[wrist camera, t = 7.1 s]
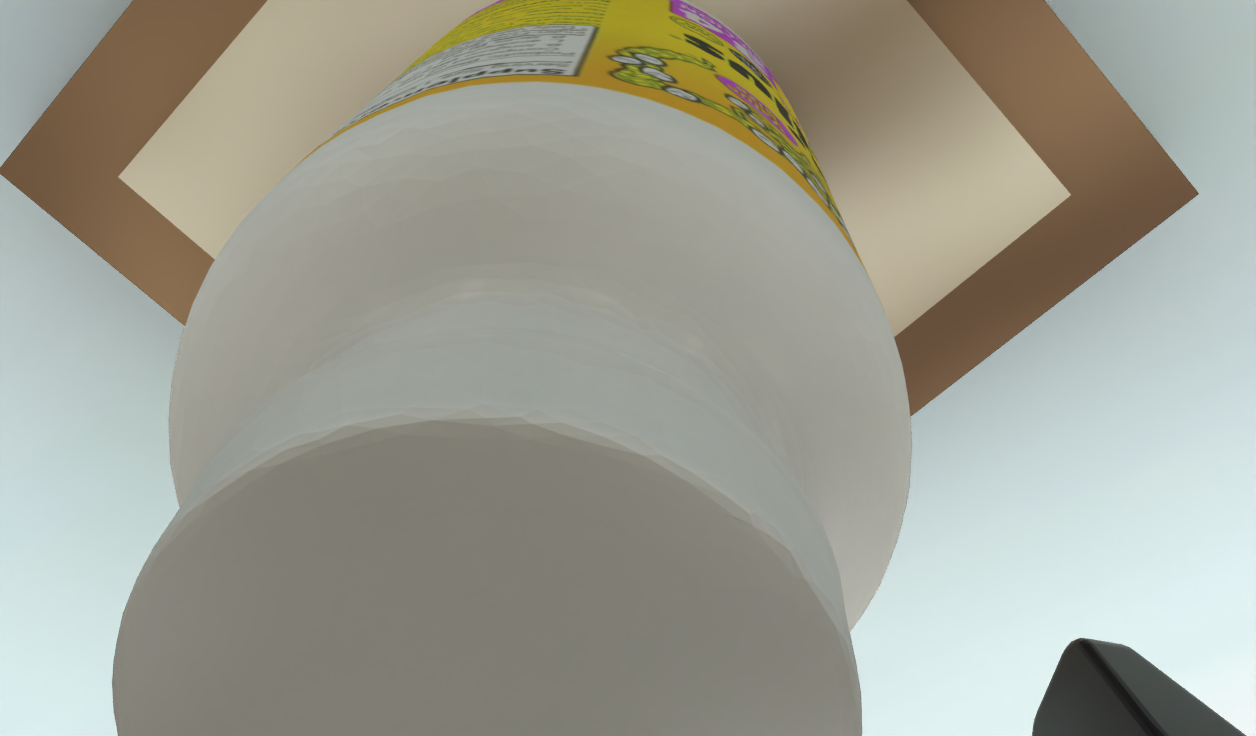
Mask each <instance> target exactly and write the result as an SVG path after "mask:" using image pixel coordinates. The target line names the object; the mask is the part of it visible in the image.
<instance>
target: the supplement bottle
mask: <svg viewBox="0 0 1256 736" xmlns="http://www.w3.org/2000/svg"><path fill="white" fill-rule="evenodd" d="M169 444H170V465H171V469H172V474H173V479H174V484H175V489H176V494H177V499H178V503H179V507H180V509H179V510H178V512H177V513H176V515H175V516H174V518H173V519H172V521H171V522H170V524H169V525H168V527H167V528H166V530H165V531H164V533H163V534H162V536H161V537H160V539H159V540H158V542H157V543H156V545H155V546H154V548H153V550H152V551H151V553H150V555H149V557H148V559H147V561H146V562H145V564H144V566H143V568H142V570H141V572H140V573H139V575H138V577H137V579H136V582H135V584H134V587H133V589H132V592H131V594H130V597H129V599H128V602H127V604H126V607H125V610H124V612H123V616H122V620H121V625H120V629H119V634H118V638H117V644H116V650H115V656H114V664H113V678H112V689H113V706H114V714H115V720H116V726H117V732H118V736H862V706H861V691H860V684H859V678H858V672H857V665H856V660H855V655H854V651H853V646H852V641H851V637H850V631H851V630H852V628H853V627H854V626H855V624H856V623H857V622H858V620H859V619H860V618H861V616H862V614H863V613H864V611H865V610H866V608H867V606H868V605H869V603H870V601H871V600H872V598H873V596H874V594H875V593H876V591H877V589H878V588H879V586H880V583H881V581H882V579H883V576H884V574H885V571H886V569H887V566H888V564H889V561H890V559H891V556H892V553H893V551H894V548H895V545H896V543H897V539H898V536H899V532H900V529H901V525H902V522H903V515H904V512H905V508H906V504H907V498H908V493H909V487H910V470H911V453H912V436H911V417H910V409H909V401H908V394H907V388H906V382H905V376H904V371H903V366H902V362H901V359H900V356H899V352H898V349H897V346H896V342H895V339H894V336H893V333H892V329H891V327H890V324H889V322H888V319H887V317H886V315H885V312H884V309H883V306H882V304H881V302H880V299H879V297H878V295H877V293H876V290H875V288H874V286H873V284H872V282H871V279H870V277H869V275H868V273H867V271H866V269H865V267H864V265H863V263H862V261H861V259H860V257H859V255H858V252H857V250H856V248H855V246H854V243H853V241H852V239H851V237H850V234H849V232H848V230H847V228H846V226H845V223H844V221H843V218H842V216H841V214H840V212H839V210H838V208H837V206H836V203H835V201H834V199H833V196H832V194H831V192H830V189H829V187H828V185H827V182H826V180H825V177H824V175H823V173H822V171H821V169H820V167H819V164H818V161H817V158H816V157H815V155H814V154H813V151H812V149H811V147H810V144H809V141H808V139H807V137H806V136H805V134H804V131H803V129H802V127H801V125H800V123H799V121H798V119H797V117H796V115H795V113H794V110H793V108H792V106H791V104H790V102H789V101H788V99H787V97H786V95H785V93H784V92H783V90H782V88H781V87H780V85H779V84H778V82H777V81H776V79H775V78H774V76H773V75H772V73H771V72H770V70H769V69H768V68H767V66H766V65H765V64H764V62H763V61H762V60H761V59H760V57H759V56H758V55H757V54H756V53H755V52H754V51H753V50H752V48H751V47H750V46H749V45H748V44H747V43H746V42H745V41H744V40H743V39H742V38H741V37H740V36H739V35H737V34H736V33H735V32H734V31H733V30H732V29H730V28H729V27H728V26H727V25H725V24H724V23H723V22H722V21H720V20H719V19H718V18H716V17H715V16H713V15H711V14H710V13H708V12H707V11H705V10H703V9H702V8H700V7H698V6H696V5H695V4H693V3H691V2H689V1H687V0H499V1H497V2H495V3H493V4H491V5H489V6H487V7H485V8H483V9H481V10H479V11H478V12H476V13H474V14H473V15H471V16H470V17H468V18H467V19H465V20H464V21H462V22H461V23H460V24H458V25H457V26H456V27H455V28H453V29H452V30H451V31H449V32H448V33H447V34H446V35H445V36H443V37H442V38H441V39H440V40H439V41H437V42H436V43H435V44H434V45H433V46H432V47H431V48H429V49H428V50H427V51H426V52H425V53H424V54H423V55H422V56H421V57H420V58H418V59H417V60H416V61H415V62H414V63H412V64H411V65H410V66H409V67H408V68H407V69H406V70H405V71H404V72H403V73H402V74H401V75H399V76H398V77H397V78H396V79H395V80H394V81H392V82H391V83H390V84H389V85H388V86H387V87H386V88H385V89H384V90H382V91H381V92H380V93H379V94H378V95H377V96H375V97H374V98H373V99H372V100H371V101H370V102H369V103H368V104H367V105H366V106H365V107H363V108H362V109H361V110H360V111H359V112H358V113H357V114H355V115H354V116H353V117H352V118H351V119H350V120H348V121H347V122H346V123H345V124H344V125H343V126H341V127H340V128H339V129H338V130H337V131H335V132H334V133H333V134H332V135H331V136H330V137H328V138H327V139H326V140H324V141H323V142H322V143H321V144H320V145H319V146H318V147H317V148H316V149H314V150H313V151H312V152H311V153H310V154H308V155H307V156H306V157H305V158H304V159H303V160H302V161H301V162H300V163H298V164H297V165H296V166H295V167H294V168H293V169H292V170H291V171H290V172H289V173H288V174H287V175H286V176H285V177H284V178H283V179H282V180H281V181H280V182H279V183H277V184H276V186H275V187H274V188H273V189H272V190H271V191H270V192H269V193H268V194H267V195H266V196H265V197H264V198H262V199H261V200H260V202H259V203H258V204H257V205H256V206H255V207H254V208H253V209H252V210H251V212H250V213H249V214H248V215H247V216H246V217H245V218H244V219H243V221H242V222H241V223H240V224H239V225H238V227H237V228H236V230H235V231H234V232H233V234H232V235H231V237H230V238H229V240H228V241H227V242H226V244H225V245H224V247H223V248H222V249H221V251H220V252H219V254H218V255H217V257H216V259H215V260H214V262H213V264H212V265H211V267H210V269H209V271H208V273H207V275H206V277H205V279H204V281H203V283H202V285H201V287H200V289H199V292H198V294H197V296H196V298H195V300H194V302H193V304H192V307H191V310H190V313H189V316H188V319H187V322H186V325H185V328H184V331H183V334H182V337H181V340H180V344H179V349H178V353H177V358H176V363H175V367H174V372H173V377H172V385H171V396H170V407H169Z"/></svg>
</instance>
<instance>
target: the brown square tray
mask: <svg viewBox="0 0 1256 736" xmlns="http://www.w3.org/2000/svg"><path fill="white" fill-rule="evenodd" d="M497 1H499V0H133V2H132V3H131V4H130V5H129V7H128V8H127V9H126V10H125V12H124V13H123V14H122V15H121V17H120V18H119V19H118V20H117V22H116V23H115V24H114V25H113V27H112V28H111V29H110V30H109V32H108V33H107V34H106V35H105V37H104V38H103V39H102V40H101V42H100V43H99V44H98V45H97V47H96V48H95V49H94V50H93V52H92V53H91V54H90V56H89V57H88V58H87V59H86V61H85V62H84V63H83V64H82V66H81V67H80V68H79V69H78V71H77V72H76V73H75V74H74V76H73V77H72V78H71V79H70V81H69V82H68V83H67V84H66V86H65V87H64V88H63V89H62V91H61V92H60V93H59V94H58V96H57V97H56V98H55V99H54V101H53V102H52V103H51V104H50V106H49V107H48V108H47V110H46V111H45V112H44V113H43V115H42V116H41V117H40V118H39V120H38V121H37V122H36V123H35V125H34V126H33V127H32V128H31V130H30V131H29V132H28V133H27V135H26V136H25V137H24V138H23V140H22V141H21V142H20V143H19V145H18V146H17V147H16V148H15V150H14V151H13V152H12V153H11V155H10V156H9V157H8V158H7V160H6V161H5V162H4V164H3V165H2V166H1V167H0V174H1V175H2V176H4V177H5V178H6V179H7V180H8V181H10V182H11V183H12V184H13V185H14V186H16V187H17V188H18V189H19V190H20V191H22V192H23V193H24V194H25V195H27V196H28V197H29V198H30V199H31V200H33V201H34V202H35V203H36V204H37V205H39V206H40V207H41V208H42V209H44V210H45V211H46V212H47V213H48V214H50V215H51V216H52V217H53V218H54V219H56V220H57V221H58V222H59V223H61V224H62V225H63V226H64V227H65V228H67V229H68V230H69V231H70V232H71V233H73V234H74V235H75V236H76V237H77V238H79V239H80V240H81V241H82V242H84V243H85V244H86V245H87V246H88V247H90V248H91V249H92V250H93V251H94V252H96V253H97V254H98V255H99V256H101V257H102V258H103V259H104V260H105V261H107V262H108V263H109V264H110V265H111V266H113V267H114V268H115V269H116V270H118V271H119V272H120V273H121V274H122V275H124V276H125V277H126V278H127V279H128V280H130V281H131V282H132V283H133V284H134V285H136V286H137V287H138V288H139V289H141V290H142V291H143V292H144V293H145V294H147V295H148V296H149V297H150V298H151V299H153V300H154V301H155V302H156V303H158V304H159V305H160V306H161V307H162V308H164V309H165V310H166V311H167V312H168V313H170V314H171V315H172V316H173V317H175V318H176V319H177V320H178V321H179V322H181V323H182V324H183V325H184V326H185V325H186V322H187V319H188V316H189V313H190V310H191V307H192V304H193V302H194V300H195V298H196V296H197V294H198V292H199V289H200V287H201V285H202V283H203V281H204V279H205V277H206V275H207V273H208V271H209V269H210V267H211V265H212V264H213V262H214V260H215V259H216V257H217V255H218V254H219V252H220V251H221V249H222V248H223V247H224V245H225V244H226V242H227V241H228V240H229V238H230V237H231V235H232V234H233V232H234V231H235V230H236V228H237V227H238V225H239V224H240V223H241V222H242V221H243V219H244V218H245V217H246V216H247V215H248V214H249V213H250V212H251V210H252V209H253V208H254V207H255V206H256V205H257V204H258V203H259V202H260V200H261V199H262V198H264V197H265V196H266V195H267V194H268V193H269V192H270V191H271V190H272V189H273V188H274V187H275V186H276V184H277V183H279V182H280V181H281V180H282V179H283V178H284V177H285V176H286V175H287V174H288V173H289V172H290V171H291V170H292V169H293V168H294V167H295V166H296V165H297V164H298V163H300V162H301V161H302V160H303V159H304V158H305V157H306V156H307V155H308V154H310V153H311V152H312V151H313V150H314V149H316V148H317V147H318V146H319V145H320V144H321V143H322V142H323V141H324V140H326V139H327V138H328V137H330V136H331V135H332V134H333V133H334V132H335V131H337V130H338V129H339V128H340V127H341V126H343V125H344V124H345V123H346V122H347V121H348V120H350V119H351V118H352V117H353V116H354V115H355V114H357V113H358V112H359V111H360V110H361V109H362V108H363V107H365V106H366V105H367V104H368V103H369V102H370V101H371V100H372V99H373V98H374V97H375V96H377V95H378V94H379V93H380V92H381V91H382V90H384V89H385V88H386V87H387V86H388V85H389V84H390V83H391V82H392V81H394V80H395V79H396V78H397V77H398V76H399V75H401V74H402V73H403V72H404V71H405V70H406V69H407V68H408V67H409V66H410V65H411V64H412V63H414V62H415V61H416V60H417V59H418V58H420V57H421V56H422V55H423V54H424V53H425V52H426V51H427V50H428V49H429V48H431V47H432V46H433V45H434V44H435V43H436V42H437V41H439V40H440V39H441V38H442V37H443V36H445V35H446V34H447V33H448V32H449V31H451V30H452V29H453V28H455V27H456V26H457V25H458V24H460V23H461V22H462V21H464V20H465V19H467V18H468V17H470V16H471V15H473V14H474V13H476V12H478V11H479V10H481V9H483V8H485V7H487V6H489V5H491V4H493V3H495V2H497ZM687 1H689V2H691V3H693V4H695V5H696V6H698V7H700V8H702V9H703V10H705V11H707V12H708V13H710V14H711V15H713V16H715V17H716V18H718V19H719V20H720V21H722V22H723V23H724V24H725V25H727V26H728V27H729V28H730V29H732V30H733V31H734V32H735V33H736V34H737V35H739V36H740V37H741V38H742V39H743V40H744V41H745V42H746V43H747V44H748V45H749V46H750V47H751V48H752V50H753V51H754V52H755V53H756V54H757V55H758V56H759V57H760V59H761V60H762V61H763V62H764V64H765V65H766V66H767V68H768V69H769V70H770V72H771V73H772V75H773V76H774V78H775V79H776V81H777V82H778V84H779V85H780V87H781V88H782V90H783V92H784V93H785V95H786V97H787V99H788V101H789V102H790V104H791V106H792V108H793V110H794V113H795V115H796V117H797V119H798V121H799V123H800V125H801V127H802V129H803V131H804V134H805V136H806V137H807V139H808V141H809V144H810V147H811V149H812V151H813V154H814V155H815V157H816V158H817V161H818V164H819V167H820V169H821V171H822V173H823V175H824V177H825V180H826V182H827V185H828V187H829V189H830V192H831V194H832V196H833V199H834V201H835V203H836V206H837V208H838V210H839V212H840V214H841V216H842V218H843V221H844V223H845V226H846V228H847V230H848V232H849V234H850V237H851V239H852V241H853V243H854V246H855V248H856V250H857V252H858V255H859V257H860V259H861V261H862V263H863V265H864V267H865V269H866V271H867V273H868V275H869V277H870V279H871V282H872V284H873V286H874V288H875V290H876V293H877V295H878V297H879V299H880V302H881V304H882V306H883V309H884V312H885V315H886V317H887V319H888V322H889V324H890V327H891V329H892V333H893V336H894V339H895V342H896V346H897V349H898V352H899V356H900V359H901V362H902V366H903V371H904V376H905V382H906V388H907V394H908V401H909V409H910V417H911V416H912V415H913V414H914V413H916V412H917V411H918V410H920V409H921V408H922V407H923V406H925V405H926V404H927V403H929V402H930V401H931V400H933V399H934V398H935V397H936V396H938V395H939V394H940V393H942V392H943V391H944V390H945V389H947V388H948V387H949V386H951V385H952V384H953V383H955V382H956V381H957V380H958V379H960V378H961V377H962V376H964V375H965V374H966V373H968V372H969V371H970V370H971V369H973V368H974V367H975V366H977V365H978V364H979V363H980V362H982V361H983V360H984V359H986V358H987V357H988V356H990V355H991V354H992V353H993V352H995V351H996V350H997V349H999V348H1000V347H1001V346H1002V345H1004V344H1005V343H1006V342H1008V341H1009V340H1010V339H1012V338H1013V337H1014V336H1015V335H1017V334H1018V333H1019V332H1021V331H1022V330H1023V329H1025V328H1026V327H1027V326H1028V325H1030V324H1031V323H1032V322H1034V321H1035V320H1036V319H1037V318H1039V317H1040V316H1041V315H1043V314H1044V313H1045V312H1047V311H1048V310H1049V309H1050V308H1052V307H1053V306H1054V305H1056V304H1057V303H1058V302H1059V301H1061V300H1062V299H1063V298H1065V297H1066V296H1067V295H1069V294H1070V293H1071V292H1072V291H1074V290H1075V289H1076V288H1078V287H1079V286H1080V285H1082V284H1083V283H1084V282H1085V281H1087V280H1088V279H1089V278H1091V277H1092V276H1093V275H1094V274H1096V273H1097V272H1098V271H1100V270H1101V269H1102V268H1104V267H1105V266H1106V265H1107V264H1109V263H1110V262H1111V261H1113V260H1114V259H1115V258H1116V257H1118V256H1119V255H1120V254H1122V253H1123V252H1124V251H1126V250H1127V249H1128V248H1129V247H1131V246H1132V245H1133V244H1135V243H1136V242H1137V241H1139V240H1140V239H1141V238H1142V237H1144V236H1145V235H1146V234H1148V233H1149V232H1150V231H1151V230H1153V229H1154V228H1155V227H1157V226H1158V225H1159V224H1161V223H1162V222H1163V221H1164V220H1166V219H1167V218H1168V217H1170V216H1171V215H1172V214H1173V213H1175V212H1176V211H1177V210H1179V209H1180V208H1181V207H1183V206H1184V205H1185V204H1186V203H1188V202H1189V201H1190V200H1192V199H1193V198H1194V197H1196V196H1197V195H1198V194H1199V193H1198V192H1197V191H1196V189H1195V188H1194V187H1193V186H1192V184H1191V183H1190V182H1189V181H1188V179H1187V178H1186V177H1185V176H1184V174H1183V173H1182V172H1181V171H1180V169H1179V168H1178V167H1177V166H1176V164H1175V163H1174V162H1173V161H1172V159H1171V158H1170V157H1169V156H1168V154H1167V153H1166V152H1165V151H1164V149H1163V148H1162V147H1161V146H1160V144H1159V143H1158V142H1157V141H1156V139H1155V138H1154V137H1153V136H1152V134H1151V133H1150V132H1149V131H1148V129H1147V128H1146V127H1145V126H1144V124H1143V123H1142V122H1141V121H1140V119H1139V118H1138V117H1137V116H1136V114H1135V113H1134V112H1133V111H1132V109H1131V108H1130V107H1129V106H1128V104H1127V103H1126V102H1125V101H1124V99H1123V98H1122V97H1121V96H1120V94H1119V93H1118V92H1117V91H1116V89H1115V88H1114V87H1113V86H1112V84H1111V83H1110V82H1109V81H1108V79H1107V78H1106V77H1105V76H1104V74H1103V73H1102V72H1101V71H1100V69H1099V68H1098V67H1097V66H1096V64H1095V63H1094V62H1093V61H1092V59H1091V58H1090V57H1089V56H1088V54H1087V53H1086V52H1085V51H1084V49H1083V48H1082V47H1081V46H1080V44H1079V43H1078V42H1077V41H1076V39H1075V38H1074V37H1073V36H1072V34H1071V33H1070V32H1069V31H1068V29H1067V28H1066V27H1065V26H1064V24H1063V23H1062V22H1061V21H1060V19H1059V18H1058V17H1057V16H1056V14H1055V13H1054V12H1053V11H1052V9H1051V8H1050V7H1049V6H1048V4H1047V3H1046V2H1045V1H1044V0H687Z"/></svg>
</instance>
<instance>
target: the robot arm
mask: <svg viewBox="0 0 1256 736" xmlns="http://www.w3.org/2000/svg"><path fill="white" fill-rule="evenodd" d="M1032 736H1246V735H1245V734H1243V733H1242V732H1241V731H1239V730H1238V729H1237V728H1235V727H1234V726H1233V725H1232V724H1230V723H1229V722H1228V721H1226V720H1225V719H1224V718H1222V717H1221V716H1220V715H1218V714H1217V713H1216V712H1214V711H1213V710H1212V709H1210V708H1209V707H1208V706H1207V705H1205V704H1204V703H1203V702H1201V701H1200V700H1199V699H1197V698H1196V697H1195V696H1193V695H1192V694H1191V693H1189V692H1188V691H1187V690H1185V689H1184V688H1183V687H1182V686H1180V685H1179V684H1178V683H1176V682H1175V681H1174V680H1172V679H1171V678H1170V677H1168V676H1167V675H1166V674H1164V673H1163V672H1162V671H1160V670H1159V669H1158V668H1156V667H1155V666H1154V665H1153V664H1151V663H1150V662H1149V661H1147V660H1146V659H1145V658H1143V657H1142V656H1141V655H1139V654H1138V653H1137V652H1135V651H1134V650H1133V649H1131V648H1130V647H1127V646H1125V645H1122V644H1117V643H1111V642H1105V641H1099V640H1093V639H1086V638H1079V639H1076V640H1074V641H1072V642H1071V643H1070V644H1069V645H1068V646H1067V647H1066V649H1065V650H1064V652H1063V654H1062V656H1061V658H1060V661H1059V663H1058V665H1057V668H1056V670H1055V672H1054V674H1053V677H1052V679H1051V681H1050V684H1049V686H1048V688H1047V690H1046V693H1045V695H1044V697H1043V700H1042V702H1041V704H1040V707H1039V709H1038V711H1037V714H1036V717H1035V720H1034V725H1033V732H1032Z"/></svg>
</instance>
